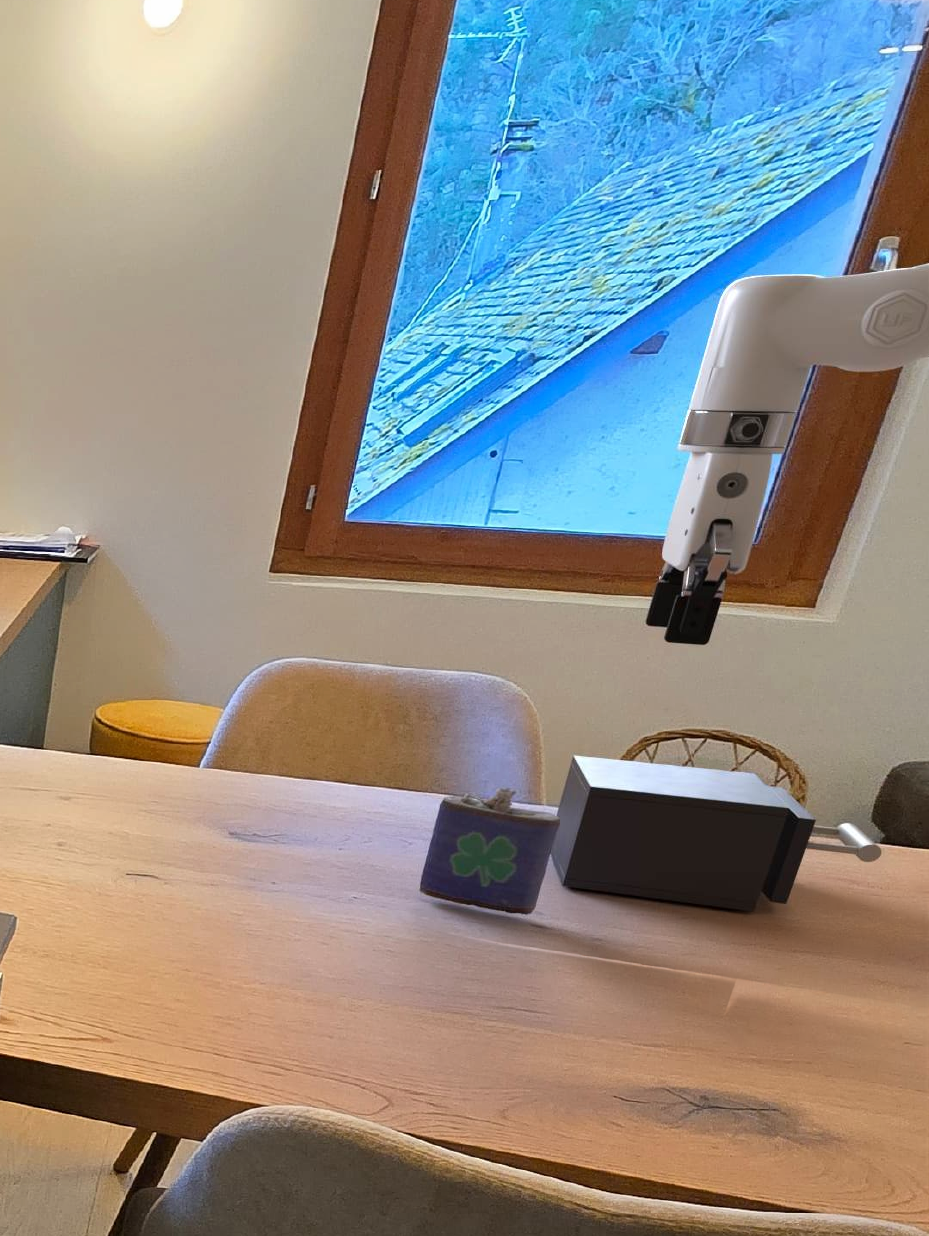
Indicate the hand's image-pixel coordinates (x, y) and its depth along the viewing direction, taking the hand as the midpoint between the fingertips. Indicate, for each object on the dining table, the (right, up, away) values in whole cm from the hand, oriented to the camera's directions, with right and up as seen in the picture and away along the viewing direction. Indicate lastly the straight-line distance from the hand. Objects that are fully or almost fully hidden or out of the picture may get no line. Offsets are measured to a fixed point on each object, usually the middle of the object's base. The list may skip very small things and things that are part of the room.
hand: (674, 634), depth 125 cm
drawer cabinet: (+1, -22, +5) cm, 23 cm away
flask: (-19, -25, -1) cm, 31 cm away
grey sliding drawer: (+6, -22, +3) cm, 23 cm away
